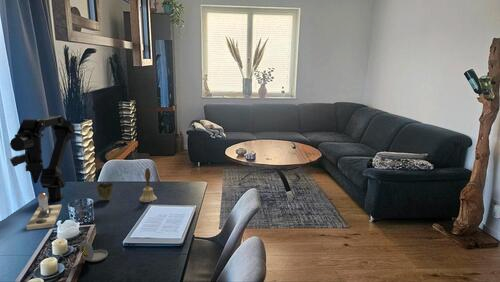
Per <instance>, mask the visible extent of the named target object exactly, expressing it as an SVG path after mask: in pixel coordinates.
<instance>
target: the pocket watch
mask: <svg viewBox="0 0 500 282" xmlns="http://www.w3.org/2000/svg"><path fill="white" fill-rule="evenodd" d="M82 238H83V239H84V240H82V241H81V242H80V243H79V247H78V249H79V253H80V254H81V253H82V252H83V251H84V252H83V253H82V254H84V255H83V257H82V258H83V259H84V260H85V261H86V262H87V261H88V262H90V263H91V262H93V263H95V262H100V261H102V260H104V259H106V258H107V256H108V254H109V253H108V250H105V249H97V250H96V249H95V250H94V248H93V246H92V245H91V243H90V242H89V241H88V238H89V237H87V235H86V234H83V235H82Z"/></svg>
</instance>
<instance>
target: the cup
mask: <svg viewBox="0 0 500 282" xmlns="http://www.w3.org/2000/svg"><path fill="white" fill-rule="evenodd" d="M96 190H97V195H98V196H99V198H101V200H102V201H103V202H107V201H109V200H110V199H111V196H112V195H113V192H114V183H113V182H111V181H110V182H109V181H108V182H107V183H105V182H104V181H103V182H100V183H99V184H97V185H96Z"/></svg>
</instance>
